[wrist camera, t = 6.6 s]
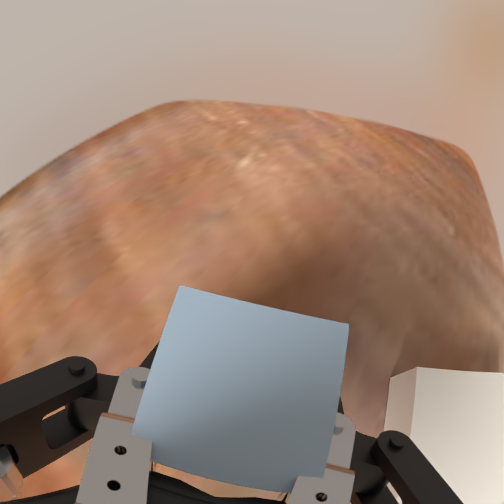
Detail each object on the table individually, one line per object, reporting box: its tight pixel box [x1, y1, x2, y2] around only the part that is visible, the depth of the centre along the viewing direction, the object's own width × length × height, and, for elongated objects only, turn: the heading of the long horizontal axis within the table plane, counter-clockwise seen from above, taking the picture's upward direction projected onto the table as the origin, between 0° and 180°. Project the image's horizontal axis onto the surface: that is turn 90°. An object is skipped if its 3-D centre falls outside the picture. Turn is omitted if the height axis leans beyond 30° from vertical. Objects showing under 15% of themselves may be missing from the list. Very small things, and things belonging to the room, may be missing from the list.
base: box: [383, 367, 504, 504], centre depth 11 cm, size 9×9×3 cm
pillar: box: [131, 285, 349, 493], centre depth 10 cm, size 4×4×10 cm
